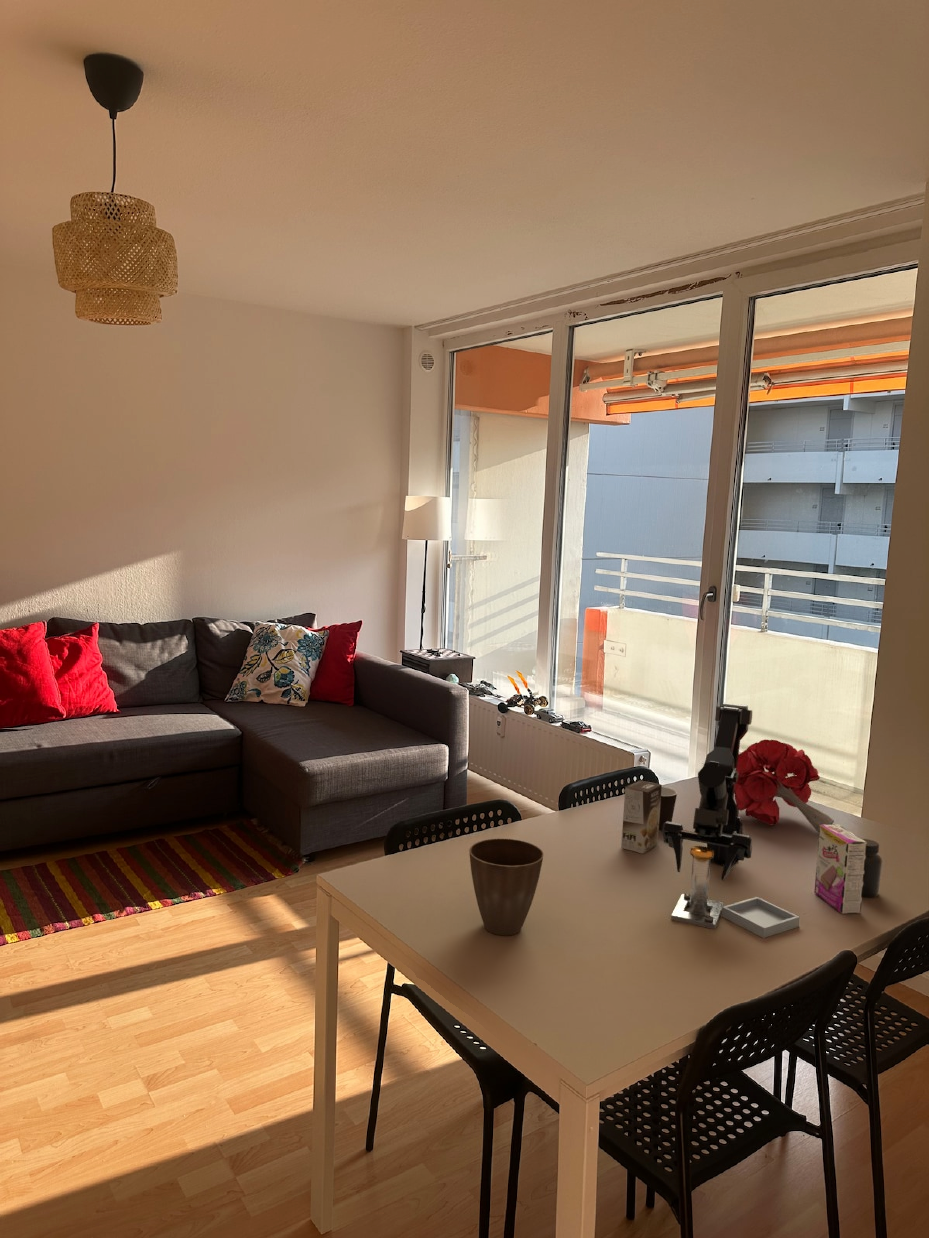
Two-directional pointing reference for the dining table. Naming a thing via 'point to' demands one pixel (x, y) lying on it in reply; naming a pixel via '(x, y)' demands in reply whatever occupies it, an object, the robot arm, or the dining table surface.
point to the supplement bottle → (872, 870)
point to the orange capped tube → (700, 879)
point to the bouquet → (776, 782)
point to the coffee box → (641, 816)
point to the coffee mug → (667, 805)
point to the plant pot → (505, 882)
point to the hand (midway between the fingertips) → (700, 875)
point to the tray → (760, 917)
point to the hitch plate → (697, 919)
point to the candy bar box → (840, 868)
